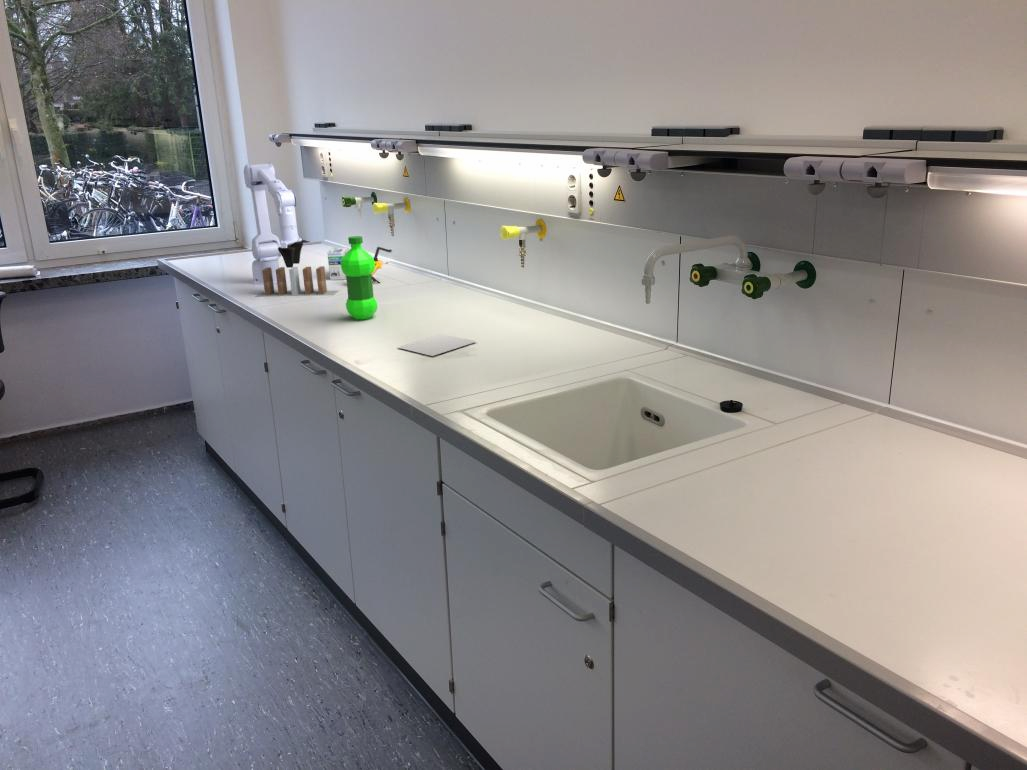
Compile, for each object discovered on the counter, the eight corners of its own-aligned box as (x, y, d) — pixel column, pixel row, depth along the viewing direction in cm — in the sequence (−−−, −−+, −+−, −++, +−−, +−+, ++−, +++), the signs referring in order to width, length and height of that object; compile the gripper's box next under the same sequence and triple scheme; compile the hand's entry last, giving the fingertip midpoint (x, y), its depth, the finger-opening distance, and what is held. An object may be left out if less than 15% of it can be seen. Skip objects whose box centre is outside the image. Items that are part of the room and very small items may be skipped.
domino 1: (265, 295, 296) (262, 270, 293) (270, 292, 301) (266, 267, 298) (269, 295, 296) (266, 270, 293) (274, 292, 301) (271, 267, 298)
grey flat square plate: (502, 349, 225) (502, 346, 224) (434, 373, 207) (434, 370, 207) (441, 336, 240) (441, 333, 239) (373, 357, 222) (373, 354, 222)
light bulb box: (347, 279, 320) (344, 251, 317) (329, 280, 320) (326, 252, 317) (351, 274, 331) (348, 246, 327) (334, 275, 330) (331, 247, 327)
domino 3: (305, 294, 295) (302, 269, 292) (309, 291, 300) (306, 266, 297) (309, 294, 295) (306, 269, 292) (313, 291, 300) (311, 266, 297)
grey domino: (300, 292, 300) (297, 266, 297) (296, 294, 295) (293, 269, 292) (296, 292, 300) (293, 267, 297) (292, 295, 295) (289, 269, 293)
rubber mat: (255, 297, 295) (255, 296, 295) (262, 292, 302) (262, 291, 302) (333, 296, 293) (333, 295, 293) (339, 291, 300) (339, 290, 300)
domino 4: (318, 294, 295) (315, 269, 292) (322, 291, 299) (319, 266, 296) (323, 294, 295) (320, 269, 292) (327, 291, 299) (324, 266, 296)
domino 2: (278, 295, 296) (275, 269, 293) (283, 292, 300) (280, 267, 298) (283, 295, 296) (279, 269, 293) (287, 292, 300) (284, 267, 297)
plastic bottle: (347, 323, 256) (339, 240, 248) (345, 315, 266) (337, 235, 258) (380, 319, 259) (373, 238, 251) (376, 312, 268) (369, 233, 260)
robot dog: (397, 282, 313) (394, 246, 309) (351, 288, 305) (347, 251, 300) (391, 279, 318) (388, 244, 313) (346, 286, 309) (342, 249, 305)
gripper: (293, 229, 283) (297, 269, 287) (306, 223, 297) (310, 261, 301) (272, 229, 284) (277, 269, 288) (286, 223, 297) (291, 261, 302)
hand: (293, 265), depth 295 cm, fingers open, 7 cm apart
